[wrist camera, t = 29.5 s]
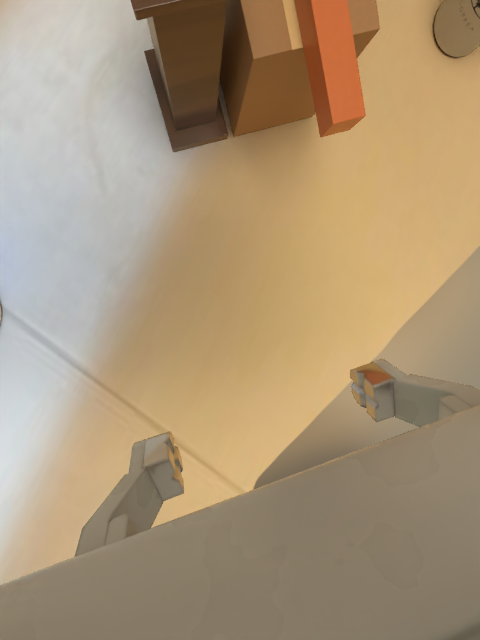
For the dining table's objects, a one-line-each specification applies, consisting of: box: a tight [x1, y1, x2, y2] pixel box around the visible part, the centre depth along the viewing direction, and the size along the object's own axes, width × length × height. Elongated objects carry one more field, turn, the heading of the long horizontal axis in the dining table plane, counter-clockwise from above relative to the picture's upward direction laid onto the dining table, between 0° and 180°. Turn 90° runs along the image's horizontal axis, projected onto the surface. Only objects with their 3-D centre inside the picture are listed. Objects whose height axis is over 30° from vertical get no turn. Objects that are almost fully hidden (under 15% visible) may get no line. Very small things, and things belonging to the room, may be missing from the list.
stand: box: [131, 0, 228, 152], centre depth 31 cm, size 12×8×26 cm, turn 16°
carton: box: [220, 0, 380, 137], centre depth 35 cm, size 12×12×18 cm
